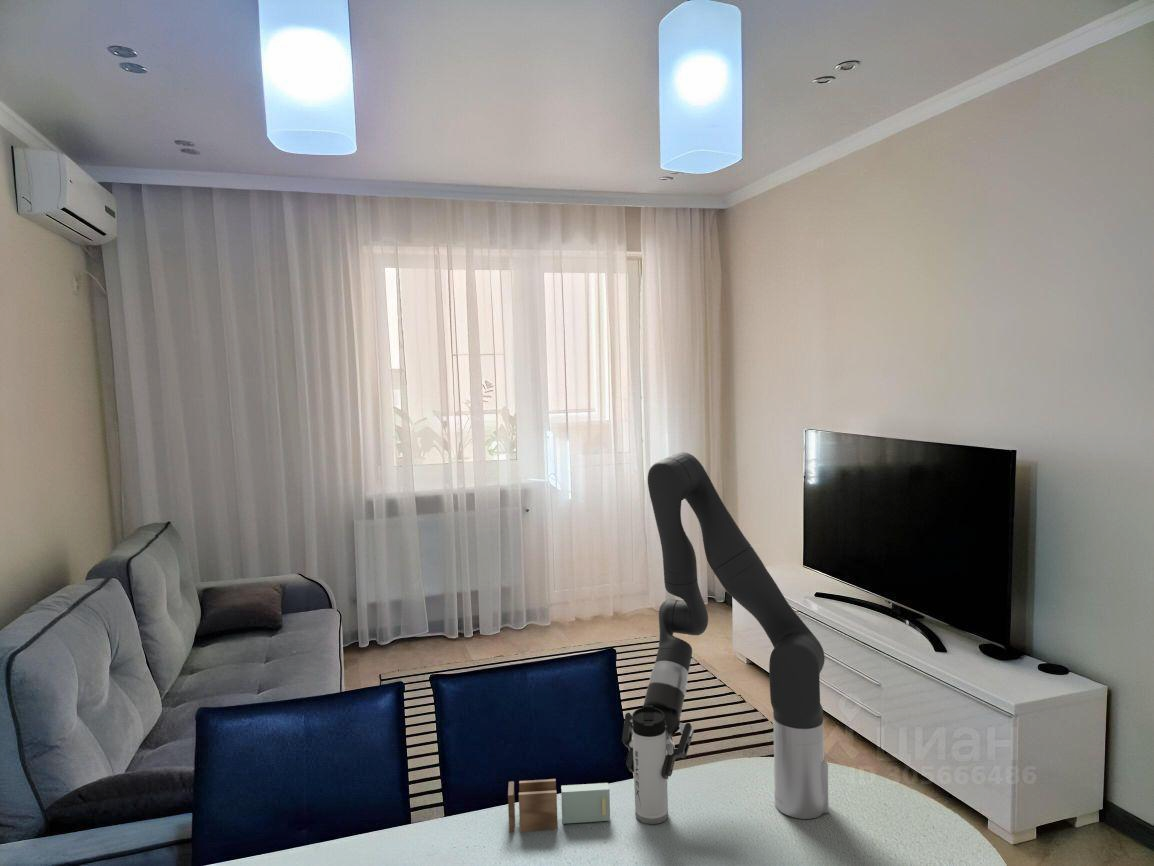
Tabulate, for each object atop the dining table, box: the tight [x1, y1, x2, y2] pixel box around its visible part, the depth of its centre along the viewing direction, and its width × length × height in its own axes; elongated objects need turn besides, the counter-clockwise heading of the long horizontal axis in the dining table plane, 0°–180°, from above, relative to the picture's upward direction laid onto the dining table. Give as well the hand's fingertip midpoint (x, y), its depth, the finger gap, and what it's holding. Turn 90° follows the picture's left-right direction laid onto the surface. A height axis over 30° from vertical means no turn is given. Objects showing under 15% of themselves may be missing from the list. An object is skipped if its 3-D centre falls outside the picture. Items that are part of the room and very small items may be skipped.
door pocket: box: [507, 778, 559, 833], centre depth 138 cm, size 9×5×7 cm, turn 94°
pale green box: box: [560, 782, 611, 824], centre depth 139 cm, size 9×3×6 cm, turn 94°
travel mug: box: [631, 706, 669, 825], centre depth 140 cm, size 6×7×20 cm
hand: (647, 773), depth 138 cm, fingers closed on travel mug, 6 cm apart
